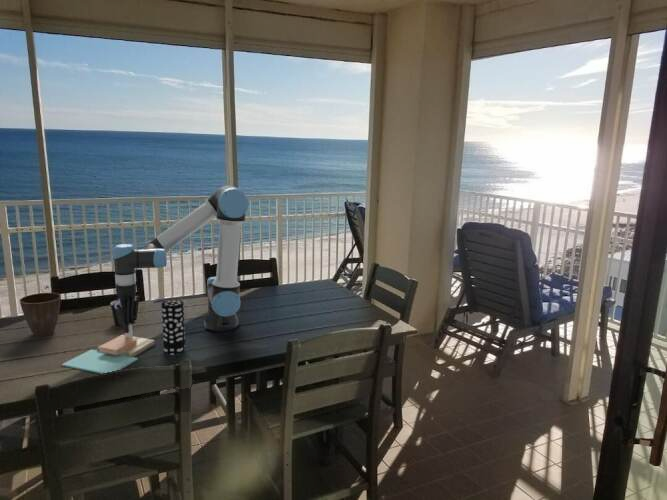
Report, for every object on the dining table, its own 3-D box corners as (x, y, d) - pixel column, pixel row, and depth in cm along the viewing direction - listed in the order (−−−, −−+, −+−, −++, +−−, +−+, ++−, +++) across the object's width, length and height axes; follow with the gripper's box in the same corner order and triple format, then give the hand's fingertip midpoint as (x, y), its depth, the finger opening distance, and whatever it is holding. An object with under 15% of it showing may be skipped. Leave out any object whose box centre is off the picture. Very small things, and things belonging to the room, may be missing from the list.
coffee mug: (125, 327, 214) (123, 306, 212) (107, 325, 216) (106, 304, 214) (140, 318, 226) (139, 298, 223) (123, 317, 227) (122, 296, 225)
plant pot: (27, 329, 210) (23, 294, 206) (65, 325, 215) (62, 291, 212) (20, 342, 196) (16, 305, 193) (62, 337, 202) (58, 301, 199)
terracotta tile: (136, 344, 193) (136, 339, 192) (116, 354, 182) (116, 350, 182) (120, 341, 195) (120, 336, 195) (99, 351, 185) (99, 346, 184)
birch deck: (154, 344, 197) (154, 340, 197) (131, 358, 184) (130, 353, 184) (122, 339, 202) (122, 334, 202) (97, 352, 189) (97, 347, 189)
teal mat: (137, 359, 184) (137, 358, 183) (110, 375, 170) (110, 374, 170) (91, 350, 190) (91, 349, 190) (62, 365, 177) (61, 364, 177)
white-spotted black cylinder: (166, 346, 196) (164, 299, 192) (187, 346, 197) (185, 299, 193) (161, 355, 188) (158, 306, 184) (182, 354, 189) (181, 306, 184)
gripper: (129, 278, 197) (132, 332, 202) (105, 286, 185) (109, 343, 190) (144, 280, 194) (147, 334, 199) (121, 288, 182) (125, 346, 187)
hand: (129, 339), depth 194 cm, fingers closed
